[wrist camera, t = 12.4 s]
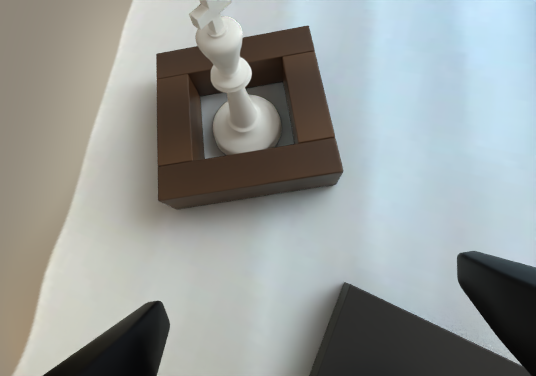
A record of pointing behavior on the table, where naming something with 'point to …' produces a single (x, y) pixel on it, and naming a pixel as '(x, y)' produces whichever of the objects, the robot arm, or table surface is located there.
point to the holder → (254, 162)
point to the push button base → (398, 344)
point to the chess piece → (233, 84)
